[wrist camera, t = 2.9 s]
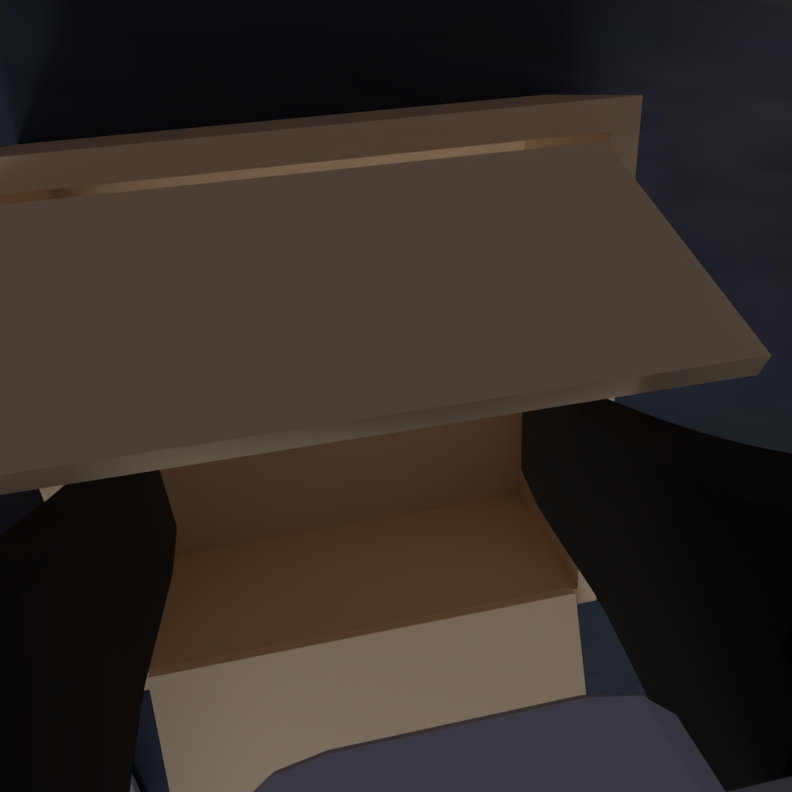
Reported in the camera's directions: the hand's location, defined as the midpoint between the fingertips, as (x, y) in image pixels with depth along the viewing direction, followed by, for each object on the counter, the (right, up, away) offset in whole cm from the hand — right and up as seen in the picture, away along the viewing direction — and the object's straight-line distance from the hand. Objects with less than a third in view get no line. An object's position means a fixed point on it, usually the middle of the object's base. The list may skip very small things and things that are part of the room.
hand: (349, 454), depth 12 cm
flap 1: (0, +3, -2) cm, 4 cm away
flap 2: (+1, -8, +5) cm, 9 cm away
